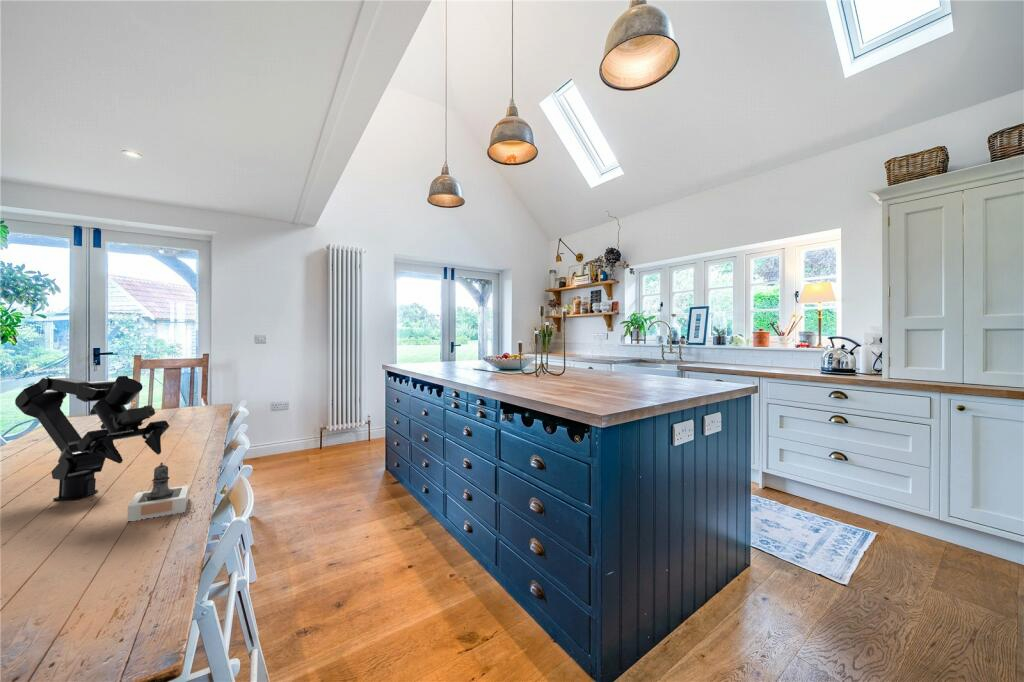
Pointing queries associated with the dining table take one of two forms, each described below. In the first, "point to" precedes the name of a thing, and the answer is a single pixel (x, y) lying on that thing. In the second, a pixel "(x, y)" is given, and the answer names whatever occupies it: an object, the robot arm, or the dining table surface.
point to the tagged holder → (158, 505)
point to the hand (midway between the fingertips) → (141, 457)
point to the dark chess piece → (160, 485)
